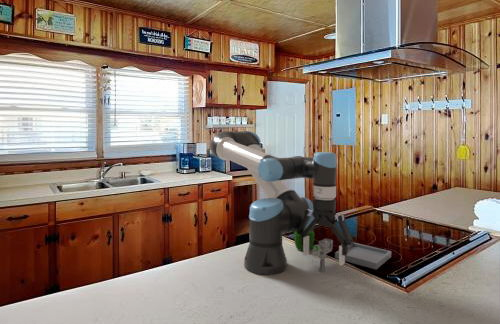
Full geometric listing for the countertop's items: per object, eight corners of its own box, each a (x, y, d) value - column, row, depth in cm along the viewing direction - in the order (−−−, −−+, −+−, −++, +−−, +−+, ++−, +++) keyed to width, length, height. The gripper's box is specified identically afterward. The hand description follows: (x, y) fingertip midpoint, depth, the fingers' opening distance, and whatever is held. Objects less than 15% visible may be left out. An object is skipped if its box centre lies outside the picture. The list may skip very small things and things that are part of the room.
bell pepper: (311, 245, 139) (312, 222, 138) (316, 252, 131) (317, 227, 130) (291, 245, 138) (292, 222, 137) (295, 252, 130) (295, 227, 129)
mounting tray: (334, 258, 125) (335, 252, 124) (352, 247, 136) (352, 242, 136) (376, 269, 115) (376, 263, 114) (391, 256, 126) (391, 251, 126)
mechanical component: (310, 273, 111) (311, 244, 110) (326, 264, 118) (326, 237, 117) (318, 276, 109) (318, 246, 108) (333, 267, 116) (334, 239, 115)
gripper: (287, 195, 116) (286, 253, 118) (355, 204, 100) (353, 272, 102) (298, 192, 122) (298, 248, 124) (365, 201, 106) (363, 265, 108)
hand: (323, 259), depth 113 cm, fingers open, 13 cm apart
